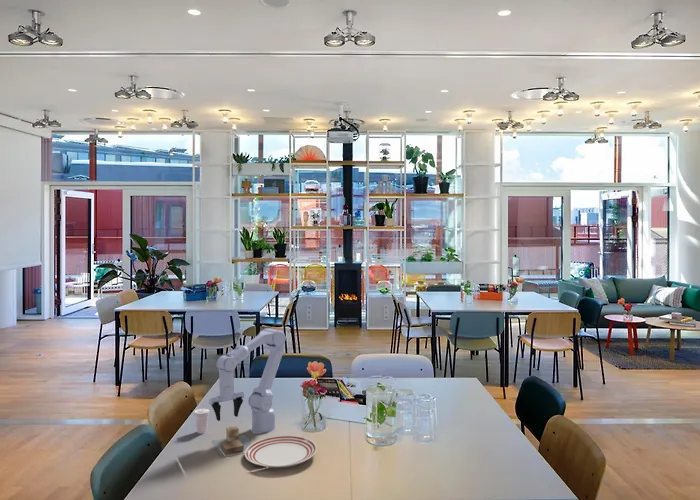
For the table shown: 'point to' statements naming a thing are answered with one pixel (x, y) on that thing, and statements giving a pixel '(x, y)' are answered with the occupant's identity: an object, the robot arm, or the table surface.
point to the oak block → (232, 433)
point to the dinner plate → (280, 451)
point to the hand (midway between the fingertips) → (227, 418)
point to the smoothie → (201, 419)
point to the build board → (217, 443)
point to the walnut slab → (232, 447)
